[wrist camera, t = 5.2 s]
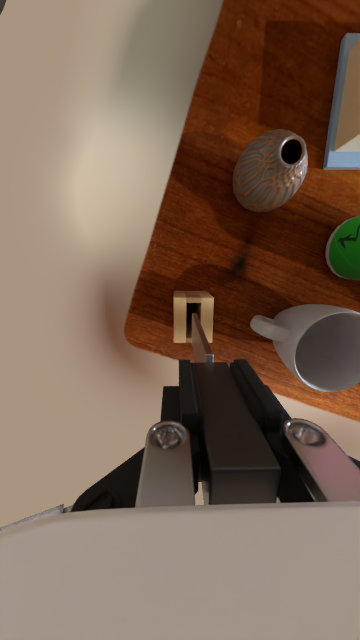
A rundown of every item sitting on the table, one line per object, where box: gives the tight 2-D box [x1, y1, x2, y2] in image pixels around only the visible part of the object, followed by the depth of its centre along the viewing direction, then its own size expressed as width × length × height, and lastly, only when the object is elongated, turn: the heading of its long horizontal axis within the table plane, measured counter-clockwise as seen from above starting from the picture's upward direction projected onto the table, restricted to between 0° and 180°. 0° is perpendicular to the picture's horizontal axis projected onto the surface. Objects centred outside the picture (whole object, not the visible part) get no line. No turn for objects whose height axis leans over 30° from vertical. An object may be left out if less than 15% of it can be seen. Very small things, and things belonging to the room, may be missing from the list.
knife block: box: [173, 291, 214, 343], centre depth 28 cm, size 5×4×6 cm
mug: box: [250, 304, 360, 392], centre depth 26 cm, size 12×9×10 cm
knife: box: [191, 313, 281, 505], centre depth 13 cm, size 3×2×15 cm, turn 0°
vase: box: [233, 129, 308, 212], centre depth 22 cm, size 7×7×9 cm
